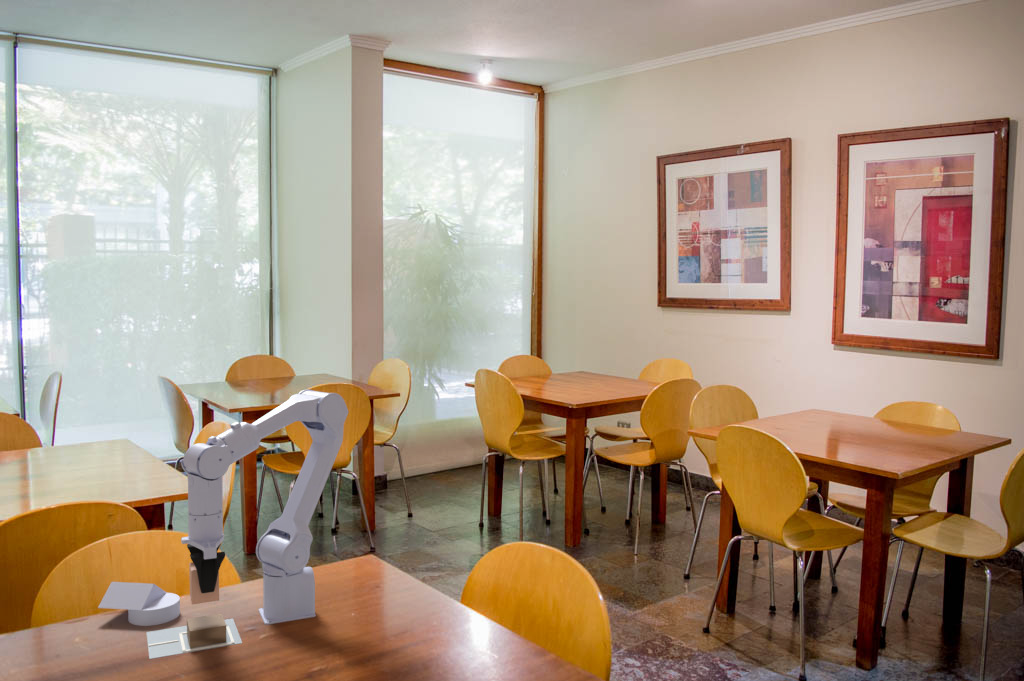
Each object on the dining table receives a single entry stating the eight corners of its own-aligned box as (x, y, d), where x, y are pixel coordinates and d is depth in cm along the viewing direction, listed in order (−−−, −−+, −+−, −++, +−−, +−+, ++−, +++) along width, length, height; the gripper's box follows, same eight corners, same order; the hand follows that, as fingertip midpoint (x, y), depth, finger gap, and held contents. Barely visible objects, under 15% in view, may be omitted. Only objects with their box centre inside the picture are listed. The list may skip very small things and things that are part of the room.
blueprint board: (233, 620, 154) (232, 617, 154) (242, 645, 143) (242, 642, 143) (146, 634, 147) (146, 631, 147) (149, 661, 136) (149, 657, 136)
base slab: (222, 629, 149) (221, 613, 149) (226, 642, 143) (226, 625, 143) (186, 635, 146) (186, 618, 146) (189, 648, 141) (189, 631, 140)
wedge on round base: (98, 625, 151) (164, 629, 150) (97, 590, 151) (164, 593, 149) (125, 607, 160) (188, 610, 159) (125, 573, 159) (188, 576, 158)
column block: (216, 591, 147) (216, 559, 147) (219, 600, 143) (218, 567, 143) (189, 595, 145) (189, 562, 145) (191, 604, 141) (191, 570, 141)
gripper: (178, 504, 148) (178, 577, 149) (184, 524, 135) (185, 604, 136) (218, 500, 151) (219, 572, 152) (229, 520, 138) (229, 598, 139)
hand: (206, 587), depth 144 cm, fingers closed on column block, 4 cm apart
